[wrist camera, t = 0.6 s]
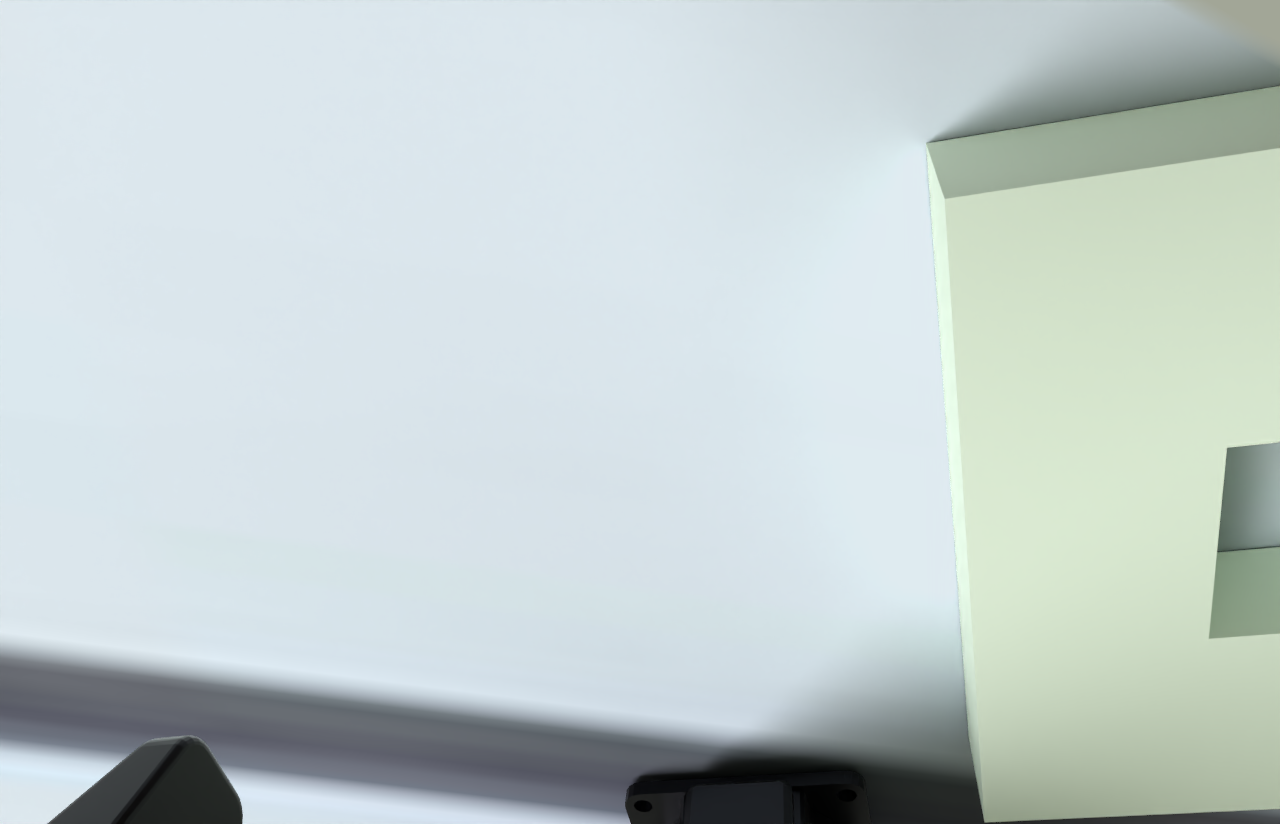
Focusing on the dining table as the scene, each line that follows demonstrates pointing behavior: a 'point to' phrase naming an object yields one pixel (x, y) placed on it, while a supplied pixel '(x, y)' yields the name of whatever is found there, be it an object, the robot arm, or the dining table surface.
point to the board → (1113, 454)
